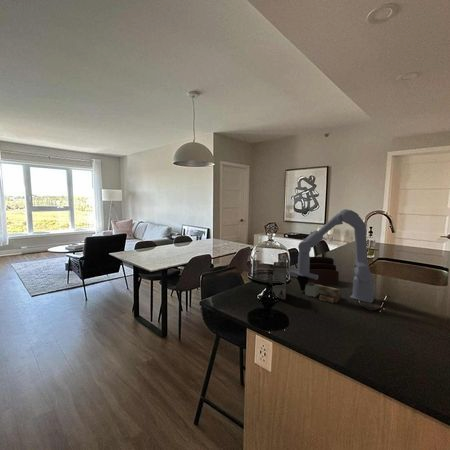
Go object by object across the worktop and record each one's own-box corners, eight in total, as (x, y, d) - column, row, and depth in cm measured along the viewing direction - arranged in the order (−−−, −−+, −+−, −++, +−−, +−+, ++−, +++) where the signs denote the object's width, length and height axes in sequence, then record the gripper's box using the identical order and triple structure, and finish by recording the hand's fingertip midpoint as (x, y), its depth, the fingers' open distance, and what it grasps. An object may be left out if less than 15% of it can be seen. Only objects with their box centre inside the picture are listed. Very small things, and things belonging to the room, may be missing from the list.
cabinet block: (318, 294, 128) (319, 282, 128) (315, 297, 124) (315, 285, 124) (308, 292, 131) (309, 280, 131) (305, 294, 128) (305, 283, 127)
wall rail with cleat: (341, 297, 124) (341, 289, 123) (335, 303, 116) (335, 295, 116) (312, 290, 133) (312, 283, 133) (305, 296, 126) (305, 288, 125)
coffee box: (272, 291, 131) (273, 261, 130) (285, 292, 130) (286, 262, 129) (272, 298, 123) (273, 266, 121) (286, 299, 121) (287, 266, 120)
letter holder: (299, 278, 154) (299, 255, 153) (332, 279, 153) (333, 256, 151) (302, 284, 144) (303, 259, 143) (338, 285, 143) (339, 260, 141)
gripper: (287, 263, 131) (286, 289, 133) (314, 268, 122) (313, 295, 123) (293, 261, 137) (292, 285, 138) (320, 265, 127) (318, 291, 129)
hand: (302, 290), depth 131 cm, fingers closed
